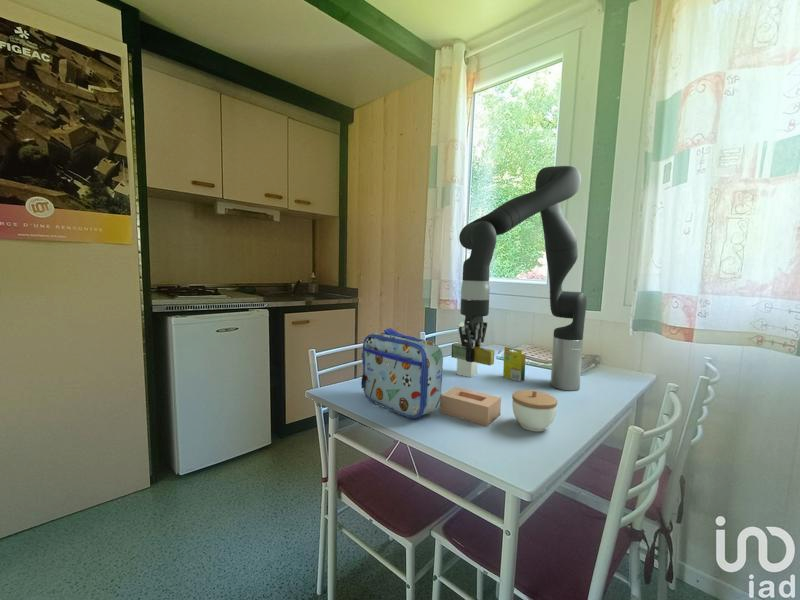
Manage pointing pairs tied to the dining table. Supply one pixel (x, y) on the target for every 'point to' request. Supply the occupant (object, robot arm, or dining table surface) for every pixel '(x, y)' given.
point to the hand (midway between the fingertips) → (472, 360)
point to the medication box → (480, 354)
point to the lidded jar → (534, 409)
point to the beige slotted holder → (470, 405)
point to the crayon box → (514, 364)
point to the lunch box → (402, 373)
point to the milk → (462, 365)
